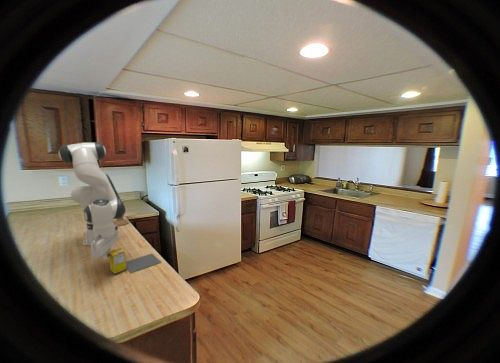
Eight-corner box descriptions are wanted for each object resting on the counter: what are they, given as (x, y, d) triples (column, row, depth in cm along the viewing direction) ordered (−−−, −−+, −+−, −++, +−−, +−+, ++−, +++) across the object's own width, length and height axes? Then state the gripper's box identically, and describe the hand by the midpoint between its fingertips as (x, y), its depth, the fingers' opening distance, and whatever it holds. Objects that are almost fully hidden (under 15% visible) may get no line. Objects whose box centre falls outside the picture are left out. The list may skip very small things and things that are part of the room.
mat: (123, 263, 126) (123, 262, 126) (152, 253, 137) (152, 253, 137) (130, 273, 116) (130, 272, 116) (161, 262, 127) (161, 262, 127)
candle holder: (114, 222, 192) (112, 199, 189) (130, 220, 196) (128, 198, 193) (110, 227, 181) (107, 203, 178) (127, 225, 185) (125, 201, 181)
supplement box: (122, 266, 122) (120, 247, 121) (126, 270, 119) (125, 251, 117) (110, 271, 118) (108, 251, 116) (114, 275, 114) (112, 255, 112)
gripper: (100, 240, 102) (103, 268, 104) (119, 224, 122) (121, 248, 124) (85, 241, 101) (88, 269, 103) (107, 225, 121) (109, 249, 123)
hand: (106, 257), depth 114 cm, fingers closed
